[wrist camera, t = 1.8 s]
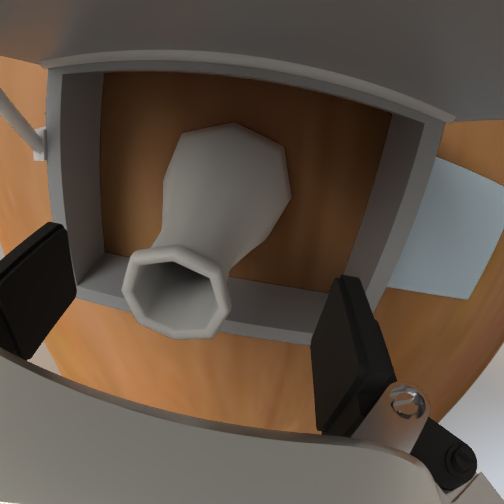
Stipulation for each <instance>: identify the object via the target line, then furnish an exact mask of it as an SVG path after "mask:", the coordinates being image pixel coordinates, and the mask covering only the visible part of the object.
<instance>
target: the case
mask: <svg viewBox="0 0 504 504" xmlns="http://www.w3.org/2000/svg"><path fill="white" fill-rule="evenodd" d="M39 63H40V65H41V67H42V68H44V69H48V80H47V96H46V156H47V173H48V185H49V195H50V204H51V212H52V219H53V222H54V223H59V224H62V225H63V226H64V228H65V229H66V230H67V233H68V240H69V247H70V254H71V260H72V266H73V272H74V277H75V283H76V288H77V294H76V298H79V299H83V300H86V301H90V302H93V303H97V304H100V305H104V306H108V307H112V308H115V309H119V310H123V311H127V312H131V313H132V311H131V309H130V307H129V305H128V303H127V301H126V299H125V297H124V295H123V293H122V291H121V289H122V286H123V282H124V278H125V274H126V270H127V267H128V263H129V259H130V257H125V256H120V255H115V254H110V253H105V249H104V238H103V227H102V212H101V193H100V123H101V104H102V91H103V79H104V72H138V71H147V72H181V73H197V74H209V75H219V76H229V77H237V78H244V79H252V80H258V81H265V82H271V83H276V84H282V85H287V86H292V87H297V88H302V89H307V90H311V91H316V92H320V93H324V94H328V95H332V96H336V97H340V98H343V99H347V100H351V101H354V102H358V103H361V104H365V105H368V106H371V107H374V108H377V109H381V110H384V111H387V112H390V113H392V117H391V122H390V126H389V130H388V134H387V138H386V141H385V145H384V149H383V153H382V156H381V160H380V163H379V167H378V170H377V174H376V177H375V181H374V184H373V187H372V191H371V194H370V197H369V200H368V203H367V207H366V210H365V213H364V216H363V219H362V222H361V225H360V228H359V231H358V234H357V237H356V240H355V242H354V245H353V248H352V251H351V254H350V256H349V259H348V262H347V265H346V267H345V270H344V273H343V275H347V276H353V277H358V278H359V279H360V281H361V283H362V286H363V288H364V291H365V294H366V297H367V299H368V302H369V305H370V308H371V310H372V313H374V311H375V309H376V307H377V305H378V303H379V301H380V299H381V297H382V295H383V293H384V291H385V289H386V286H387V284H388V282H389V280H390V278H391V276H392V273H393V271H394V269H395V267H396V264H397V262H398V260H399V258H400V255H401V253H402V251H403V248H404V246H405V243H406V241H407V238H408V236H409V233H410V231H411V228H412V226H413V223H414V221H415V218H416V215H417V213H418V210H419V207H420V204H421V202H422V199H423V196H424V193H425V190H426V187H427V184H428V181H429V178H430V175H431V172H432V169H433V165H434V162H435V159H436V155H437V152H438V148H439V145H440V141H441V138H442V134H443V130H444V126H445V122H446V123H448V124H450V123H452V122H453V121H454V120H455V118H456V116H453V115H451V114H449V113H447V112H445V111H443V110H440V109H438V108H436V107H434V106H431V105H429V104H427V103H424V102H422V101H419V100H417V99H414V98H412V97H409V96H407V95H404V94H401V93H399V92H396V91H393V90H390V89H388V88H385V87H382V86H379V85H376V84H373V83H370V82H366V81H363V80H360V79H357V78H353V77H350V76H346V75H342V74H339V73H335V72H331V71H327V70H323V69H319V68H315V67H310V66H306V65H301V64H296V63H291V62H286V61H280V60H274V59H268V58H262V57H255V56H248V55H240V54H231V53H220V52H208V51H191V50H129V51H112V52H100V53H90V54H82V55H74V56H67V57H61V58H55V59H49V60H44V61H39ZM226 285H227V288H228V292H229V295H230V299H231V304H232V308H231V311H230V313H229V314H228V316H227V318H226V319H225V321H224V322H223V324H222V326H221V327H220V329H219V330H218V331H219V332H225V333H230V334H236V335H242V336H248V337H254V338H260V339H267V340H273V341H280V342H287V343H295V344H302V345H311V339H312V336H313V333H314V331H315V328H316V326H317V323H318V321H319V318H320V316H321V313H322V311H323V308H324V305H325V303H326V300H327V297H328V295H329V293H324V292H317V291H311V290H305V289H299V288H293V287H287V286H281V285H275V284H269V283H263V282H257V281H251V280H246V279H240V278H234V277H229V276H228V279H227V283H226Z"/></svg>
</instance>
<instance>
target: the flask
mask: <svg viewBox="0 0 504 504" xmlns="http://www.w3.org/2000/svg"><path fill="white" fill-rule="evenodd" d="M291 198H292V196H291V189H290V182H289V175H288V169H287V162H286V156H285V150H284V146H282V145H280V144H278V143H276V142H274V141H272V140H270V139H268V138H266V137H264V136H262V135H260V134H258V133H256V132H254V131H252V130H250V129H248V128H246V127H244V126H242V125H239V124H237V123H235V122H232V123H226V124H221V125H216V126H212V127H207V128H202V129H198V130H193V131H189V132H185V133H182V134H181V136H180V139H179V141H178V143H177V146H176V148H175V151H174V153H173V156H172V158H171V161H170V163H169V166H168V168H167V171H166V173H165V176H164V179H163V212H162V230H161V232H160V234H159V235H158V237H157V238H156V240H155V241H154V243H153V244H152V246H151V247H150V248H147V249H140V250H137V251H135V252H134V253H133V254H132V255H131V257H130V259H129V263H128V267H127V270H126V274H125V278H124V282H123V286H122V289H121V291H122V293H123V295H124V297H125V299H126V301H127V303H128V305H129V307H130V309H131V311H132V313H133V315H134V317H135V319H136V321H137V323H139V324H141V325H143V326H145V327H147V328H149V329H151V330H154V331H156V332H158V333H160V334H162V335H165V336H167V337H169V338H172V339H174V340H189V339H213V338H214V337H215V335H216V333H217V332H218V330H219V329H220V327H221V326H222V324H223V322H224V321H225V319H226V318H227V316H228V314H229V313H230V311H231V308H232V304H231V299H230V295H229V292H228V288H227V285H226V283H227V279H228V276H229V272H230V269H231V268H232V267H233V266H234V265H235V264H237V263H238V262H239V261H240V260H241V259H242V258H243V257H244V256H245V255H247V254H248V253H249V252H250V251H251V250H253V249H254V248H255V247H257V246H258V245H259V244H261V243H262V242H263V241H265V240H266V239H267V238H268V236H269V234H270V233H271V231H272V230H273V228H274V226H275V225H276V223H277V221H278V220H279V218H280V216H281V215H282V213H283V211H284V210H285V208H286V206H287V205H288V203H289V201H290V200H291Z"/></svg>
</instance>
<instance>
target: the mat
mask: <svg viewBox="0 0 504 504" xmlns="http://www.w3.org/2000/svg"><path fill="white" fill-rule="evenodd" d="M503 229H504V186H502V185H500V184H498V183H496V182H494V181H492V180H490V179H487V178H485V177H483V176H481V175H479V174H477V173H474V172H472V171H470V170H468V169H465V168H463V167H461V166H458V165H456V164H454V163H451V162H449V161H446V160H444V159H441V158H439V157H436V159H435V162H434V165H433V169H432V172H431V175H430V178H429V181H428V184H427V187H426V190H425V193H424V196H423V199H422V202H421V204H420V207H419V210H418V213H417V215H416V218H415V221H414V223H413V226H412V228H411V231H410V233H409V236H408V238H407V241H406V243H405V246H404V248H403V251H402V253H401V255H400V258H399V260H398V262H397V264H396V267H395V269H394V271H393V273H392V276H391V278H390V280H389V282H388V284H387V286H386V287H390V288H396V289H403V290H409V291H415V292H421V293H428V294H434V295H440V296H447V297H453V298H460V299H466V300H468V298H469V297H470V295H471V293H472V291H473V290H474V288H475V286H476V284H477V283H478V281H479V279H480V277H481V275H482V273H483V271H484V269H485V267H486V265H487V263H488V261H489V259H490V257H491V255H492V253H493V251H494V249H495V247H496V245H497V243H498V240H499V238H500V236H501V234H502V231H503Z"/></svg>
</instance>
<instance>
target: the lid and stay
mask: <svg viewBox="0 0 504 504" xmlns="http://www.w3.org/2000/svg"><path fill="white" fill-rule="evenodd" d="M129 50H191V51H208V52H220V53H231V54H240V55H248V56H255V57H262V58H268V59H274V60H280V61H286V62H291V63H296V64H301V65H306V66H310V67H315V68H319V69H323V70H327V71H331V72H335V73H339V74H342V75H346V76H350V77H353V78H357V79H360V80H363V81H366V82H370V83H373V84H376V85H379V86H382V87H385V88H388V89H390V90H393V91H396V92H399V93H401V94H404V95H407V96H409V97H412V98H414V99H417V100H419V101H422V102H424V103H427V104H429V105H431V106H434V107H436V108H438V109H440V110H443V111H445V112H447V113H449V114H451V115H453V116H456V118H455V120H454V121H456V122H459V121H476V120H503V119H504V0H0V56H5V57H9V58H14V59H18V60H23V61H27V62H31V63H35V64H39V65H40V63H39V61H44V60H49V59H55V58H61V57H67V56H74V55H82V54H90V53H100V52H112V51H129ZM0 114H1V116H2V117H3V118H4V119H5V120H6V121H7V122H8V123H9V125H10V126H11V127H12V128H13V129H14V130H15V131H16V132H17V133H18V134H19V136H20V137H21V138H22V139H23V140H24V141H25V142H26V143H27V144H28V145H29V146H30V147H31V148H32V149H33V152H34V160H39V161H45V160H47V156H46V126H44V127H41V128H38V129H35V130H34V129H33V128H32V127H31V126H30V124H29V123H28V122H27V121H26V120H25V118H24V117H23V116H22V115H21V113H20V112H19V111H18V110H17V109H16V107H15V106H14V105H13V104H12V102H11V101H10V100H9V98H8V97H7V96H6V95H5V93H4V92H3V91H2V90H1V88H0Z"/></svg>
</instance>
